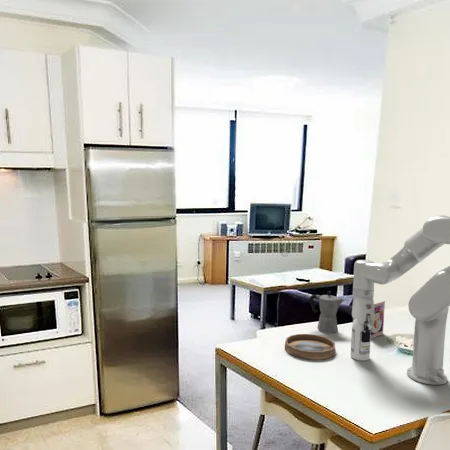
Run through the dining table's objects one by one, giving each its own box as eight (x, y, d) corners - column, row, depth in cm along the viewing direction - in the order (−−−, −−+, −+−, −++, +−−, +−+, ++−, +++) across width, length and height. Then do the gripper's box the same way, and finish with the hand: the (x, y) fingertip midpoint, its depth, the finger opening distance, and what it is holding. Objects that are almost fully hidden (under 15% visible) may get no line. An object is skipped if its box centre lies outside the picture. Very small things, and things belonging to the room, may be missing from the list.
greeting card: (370, 339, 181) (372, 305, 180) (355, 334, 187) (357, 301, 185) (384, 334, 188) (386, 301, 187) (369, 329, 194) (371, 297, 193)
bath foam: (372, 357, 162) (375, 306, 160) (364, 362, 157) (367, 310, 155) (355, 352, 167) (358, 303, 165) (347, 357, 162) (349, 306, 160)
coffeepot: (343, 328, 195) (345, 290, 193) (340, 335, 186) (342, 295, 184) (310, 323, 201) (311, 286, 199) (306, 329, 192) (307, 291, 190)
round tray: (343, 359, 160) (344, 351, 160) (292, 360, 158) (292, 353, 157) (324, 339, 180) (325, 333, 180) (279, 341, 177) (279, 334, 177)
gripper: (383, 298, 151) (381, 346, 153) (362, 287, 169) (360, 330, 170) (364, 299, 150) (361, 347, 152) (344, 287, 168) (342, 330, 169)
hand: (360, 337), depth 161 cm, fingers closed on bath foam, 7 cm apart
